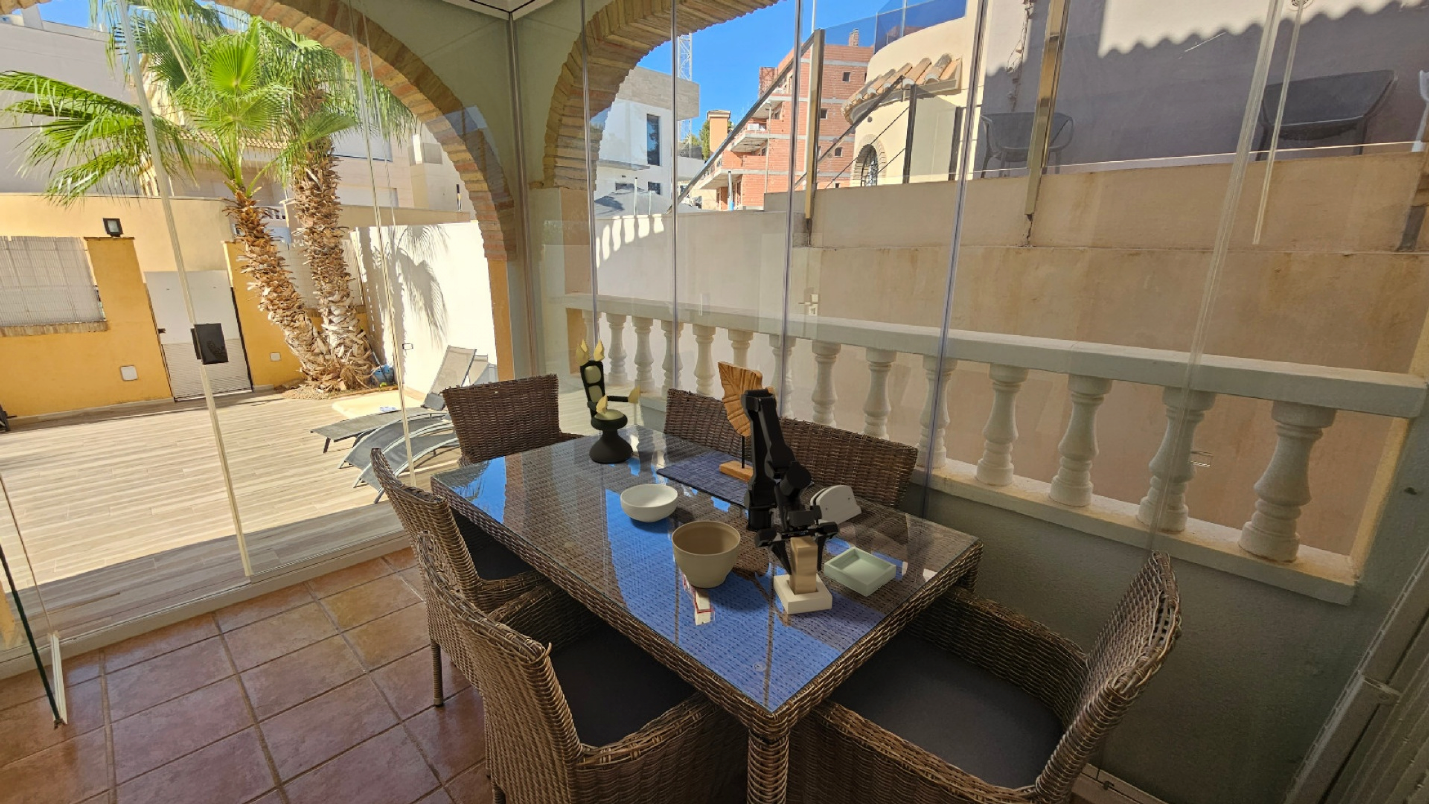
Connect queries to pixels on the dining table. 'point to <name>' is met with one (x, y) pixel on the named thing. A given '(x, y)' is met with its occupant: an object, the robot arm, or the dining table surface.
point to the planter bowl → (705, 551)
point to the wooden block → (803, 565)
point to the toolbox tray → (860, 570)
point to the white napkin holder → (836, 504)
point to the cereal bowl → (649, 502)
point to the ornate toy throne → (603, 407)
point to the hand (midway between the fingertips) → (805, 573)
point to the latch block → (802, 596)
